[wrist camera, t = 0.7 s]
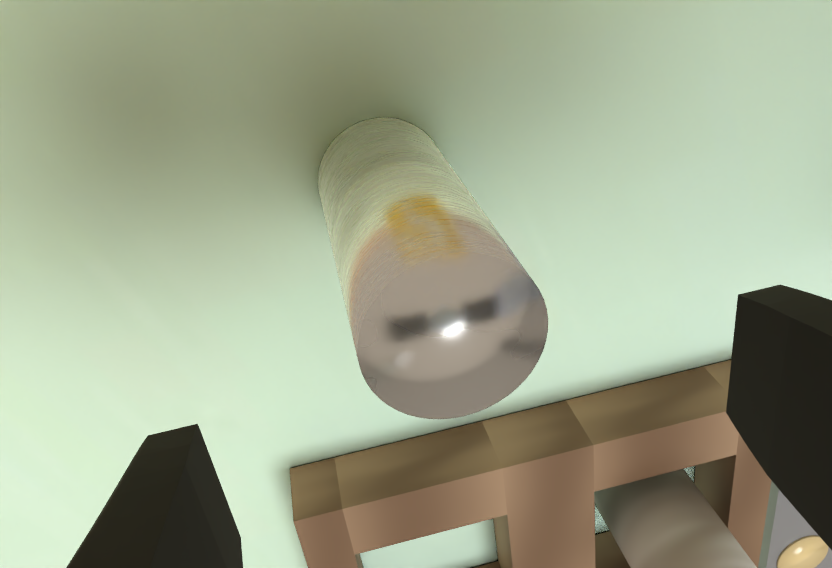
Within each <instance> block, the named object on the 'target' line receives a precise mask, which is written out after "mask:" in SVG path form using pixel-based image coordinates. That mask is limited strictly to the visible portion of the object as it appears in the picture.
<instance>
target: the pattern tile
mask: <svg viewBox="0 0 832 568" xmlns="http://www.w3.org/2000/svg"><path fill="white" fill-rule="evenodd" d="M758 568H832V550H831V549H830V548H829V547H828V546H827V544H826V543H825V542H824V541H823V540H822V539H821V538H820V536H819V535H818V534H817V533H816V532H815V531H814V530H813V528H812V527H811V526H810V525H809V524H808V523H807V522H806V520H805V519H804V518H803V517H802V516H801V515H800V513H799V512H798V511H797V510H796V509H795V508H794V506H793V505H792V504H791V503H790V502H789V501H788V499H787V498H786V497H785V496H784V495H783V494H782V492H781V491H780V490H779V489H778V488H777V486H776V485H775V484H774V483H773V482H772V480H771V487H770V493H769V500H768V506H767V513H766V519H765V526H764V532H763V538H762V545H761V551H760V558H759V564H758Z"/></svg>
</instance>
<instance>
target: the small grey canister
mask: <svg viewBox="0 0 832 568" xmlns="http://www.w3.org/2000/svg"><path fill="white" fill-rule="evenodd" d="M318 189H319V195H320V199H321V203H322V207H323V212H324V216H325V220H326V224H327V229H328V233H329V237H330V242H331V246H332V250H333V254H334V259H335V263H336V267H337V272H338V276H339V280H340V284H341V289H342V293H343V297H344V301H345V306H346V310H347V314H348V319H349V323H350V327H351V331H352V336H353V340H354V344H355V349H356V353H357V357H358V361H359V365H360V368H361V372H362V374H363V377H364V379H365V381H366V383H367V384H368V386H369V387H370V388H371V390H372V391H373V392H374V393H375V394H376V395H377V396H378V397H379V398H380V399H381V400H382V401H383V402H385V403H386V404H387V405H389V406H391V407H392V408H394V409H396V410H398V411H400V412H403V413H405V414H408V415H412V416H415V417H420V418H427V419H448V418H456V417H461V416H466V415H469V414H473V413H476V412H478V411H481V410H483V409H486V408H488V407H490V406H492V405H494V404H496V403H497V402H499V401H500V400H502V399H503V398H505V397H506V396H508V395H509V394H510V393H512V392H513V391H514V390H515V389H516V388H517V387H518V386H519V385H520V384H521V383H522V382H523V381H524V380H525V379H526V378H527V377H528V375H529V374H530V373H531V372H532V370H533V369H534V367H535V365H536V364H537V362H538V360H539V358H540V356H541V354H542V352H543V349H544V345H545V342H546V338H547V332H548V316H547V309H546V305H545V302H544V299H543V297H542V295H541V293H540V291H539V289H538V287H537V286H536V285H535V283H534V282H533V280H532V279H531V278H530V276H529V275H528V273H527V272H526V271H525V269H524V268H523V266H522V265H521V264H520V262H519V261H518V259H517V258H516V257H515V255H514V254H513V252H512V251H511V250H510V248H509V247H508V245H507V244H506V243H505V241H504V240H503V238H502V237H501V236H500V234H499V233H498V231H497V230H496V229H495V227H494V226H493V225H492V223H491V222H490V220H489V219H488V218H487V216H486V215H485V213H484V212H483V211H482V209H481V208H480V206H479V205H478V204H477V202H476V201H475V199H474V198H473V197H472V195H471V194H470V192H469V191H468V190H467V188H466V187H465V185H464V184H463V183H462V181H461V180H460V178H459V177H458V176H457V174H456V173H455V172H454V170H453V169H452V167H451V166H450V165H449V163H448V162H447V160H446V159H445V158H444V156H443V155H442V153H441V152H440V151H439V149H438V148H437V146H436V145H435V144H434V142H433V141H432V139H431V138H430V137H429V136H428V135H427V134H426V133H425V132H424V131H422V130H421V129H420V128H418V127H417V126H415V125H413V124H411V123H409V122H406V121H404V120H400V119H396V118H372V119H368V120H364V121H361V122H359V123H356V124H354V125H352V126H351V127H349V128H347V129H346V130H345V131H343V132H342V133H341V134H339V135H338V136H337V137H336V138H335V139H334V140H333V142H332V143H331V144H330V146H329V147H328V149H327V150H326V152H325V154H324V156H323V158H322V161H321V164H320V168H319V173H318Z"/></svg>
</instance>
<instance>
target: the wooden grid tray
mask: <svg viewBox="0 0 832 568" xmlns="http://www.w3.org/2000/svg"><path fill="white" fill-rule="evenodd" d="M730 368H731V360H728V361H724V362H720V363H716V364H712V365H708V366H703V367H699V368H695V369H691V370H687V371H683V372H679V373H675V374H671V375H667V376H663V377H659V378H655V379H651V380H647V381H643V382H639V383H635V384H631V385H626V386H622V387H618V388H614V389H610V390H606V391H602V392H598V393H594V394H590V395H586V396H582V397H578V398H574V399H570V400H566V401H562V402H558V403H553V404H549V405H545V406H541V407H537V408H533V409H529V410H525V411H521V412H517V413H513V414H509V415H505V416H501V417H497V418H493V419H489V420H485V421H481V422H476V423H472V424H468V425H464V426H460V427H456V428H452V429H448V430H444V431H440V432H436V433H432V434H428V435H424V436H420V437H416V438H412V439H408V440H404V441H399V442H395V443H391V444H387V445H383V446H379V447H375V448H371V449H367V450H363V451H359V452H355V453H351V454H347V455H343V456H339V457H335V458H331V459H326V460H322V461H318V462H314V463H310V464H306V465H302V466H298V467H294V468H290V480H291V494H292V507H293V520H294V524H295V528H296V531H297V534H298V537H299V540H300V543H301V546H302V549H303V553H304V556H305V559H306V562H307V565H308V568H363V565H362V561H361V557H360V553H363V552H367V551H370V550H374V549H378V548H382V547H386V546H389V545H393V544H397V543H401V542H405V541H409V540H412V539H416V538H420V537H424V536H428V535H431V534H435V533H439V532H443V531H447V530H450V529H454V528H458V527H462V526H466V525H470V524H473V523H477V522H481V521H485V520H489V519H492V518H493V520H494V528H495V537H496V545H497V554H498V561H496V562H493V563H489V564H485V565H482V566H478V567H474V568H758V564H759V558H760V551H761V545H762V538H763V532H764V526H765V519H766V513H767V506H768V500H769V493H770V487H771V479H770V478H769V477H768V476H767V474H766V473H765V471H764V470H763V468H762V467H761V466H760V464H759V463H758V461H757V460H756V458H755V457H754V455H753V454H752V452H751V451H750V450H749V448H748V447H747V445H746V443H745V442H744V440H743V439H742V437H741V436H740V434H739V432H738V431H737V429H736V428H735V426H734V424H733V423H732V421H731V420H730V418H729V417H728V415H727V413H726V407H727V397H728V388H729V378H730ZM691 466H695V478H694V482H693V481H692V480H691V478H690V477H689V476H688V474H687V473H686V472H685V470H684V469H683V468H687V467H691ZM594 503H595V505H596V507H597V509H598V510H599V512H600V514H601V516H602V517H603V519H604V521H605V523H606V525H607V526H608V528H609V530H610V531H608V532H604V533H601V534H597V535H595V505H594Z"/></svg>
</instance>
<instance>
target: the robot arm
mask: <svg viewBox="0 0 832 568" xmlns="http://www.w3.org/2000/svg"><path fill="white" fill-rule="evenodd" d="M726 413H727V415H728V417H729V418H730V420H731V421H732V423H733V424H734V426H735V428H736V429H737V431H738V432H739V434H740V436H741V437H742V439H743V440H744V442H745V443H746V445H747V447H748V448H749V450H750V451H751V452H752V454H753V455H754V457H755V458H756V460H757V461H758V463H759V464H760V466H761V467H762V468H763V470H764V471H765V473H766V474H767V476H768V477H769V478H770V479H771V480H772V482H773V483H774V484H775V485H776V486H777V488H778V489H779V490H780V491H781V492H782V494H783V495H784V496H785V497H786V498H787V499H788V501H789V502H790V503H791V504H792V505H793V506H794V508H795V509H796V510H797V511H798V512H799V513H800V515H801V516H802V517H803V518H804V519H805V520H806V522H807V523H808V524H809V525H810V526H811V527H812V528H813V530H814V531H815V532H816V533H817V534H818V535H819V536H820V538H821V539H822V540H823V541H824V542H825V543H826V544H827V546H828V547H829V548H830V549H831V550H832V300H829V299H826V298H823V297H820V296H817V295H814V294H811V293H807V292H804V291H801V290H797V289H794V288H790V287H787V286H783V285H777V286H773V287H769V288H765V289H760V290H756V291H752V292H748V293H744V294H739V295H738V301H737V311H736V320H735V330H734V340H733V349H732V359H731V368H730V378H729V388H728V397H727V407H726ZM67 568H243V562H242V549H241V537H240V534H239V532H238V529H237V526H236V524H235V521H234V519H233V516H232V513H231V511H230V508H229V505H228V503H227V500H226V497H225V495H224V492H223V489H222V487H221V484H220V482H219V479H218V476H217V474H216V471H215V468H214V466H213V463H212V460H211V458H210V455H209V453H208V450H207V447H206V445H205V442H204V439H203V437H202V434H201V431H200V429H199V426H198V424H195V425H191V426H186V427H182V428H178V429H174V430H170V431H165V432H161V433H157V434H153V435H149V436H147V438H146V439H145V441H144V442H143V443H142V445H141V447H140V448H139V450H138V451H137V453H136V455H135V456H134V458H133V460H132V461H131V463H130V465H129V466H128V468H127V470H126V471H125V473H124V475H123V476H122V478H121V480H120V481H119V483H118V485H117V487H116V488H115V490H114V492H113V493H112V495H111V497H110V498H109V500H108V502H107V503H106V505H105V507H104V508H103V510H102V512H101V513H100V515H99V517H98V518H97V520H96V521H95V523H94V525H93V526H92V528H91V530H90V531H89V533H88V535H87V536H86V538H85V539H84V541H83V542H82V544H81V546H80V547H79V549H78V550H77V552H76V553H75V555H74V557H73V558H72V560H71V561H70V563H69V564H68V566H67Z"/></svg>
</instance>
